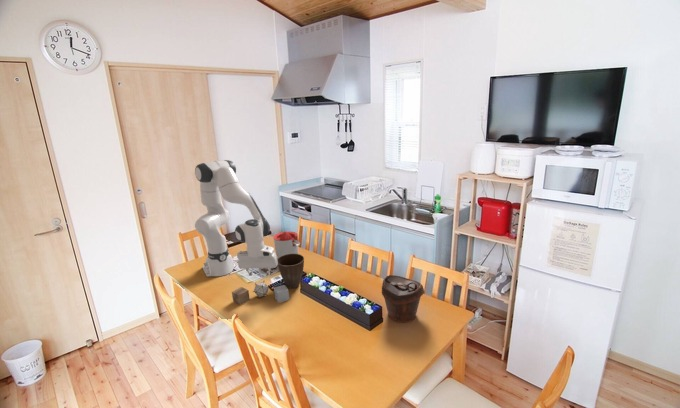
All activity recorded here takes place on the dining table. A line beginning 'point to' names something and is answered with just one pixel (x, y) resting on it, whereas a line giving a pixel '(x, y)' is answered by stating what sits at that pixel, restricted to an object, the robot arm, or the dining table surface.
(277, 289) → the grey block
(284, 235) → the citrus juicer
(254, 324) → the dining table surface
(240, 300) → the walnut block
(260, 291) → the grey spiky ball
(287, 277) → the plant pot
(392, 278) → the dark brown lidded bucket
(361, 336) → the dining table surface
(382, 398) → the dining table surface
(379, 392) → the dining table surface
